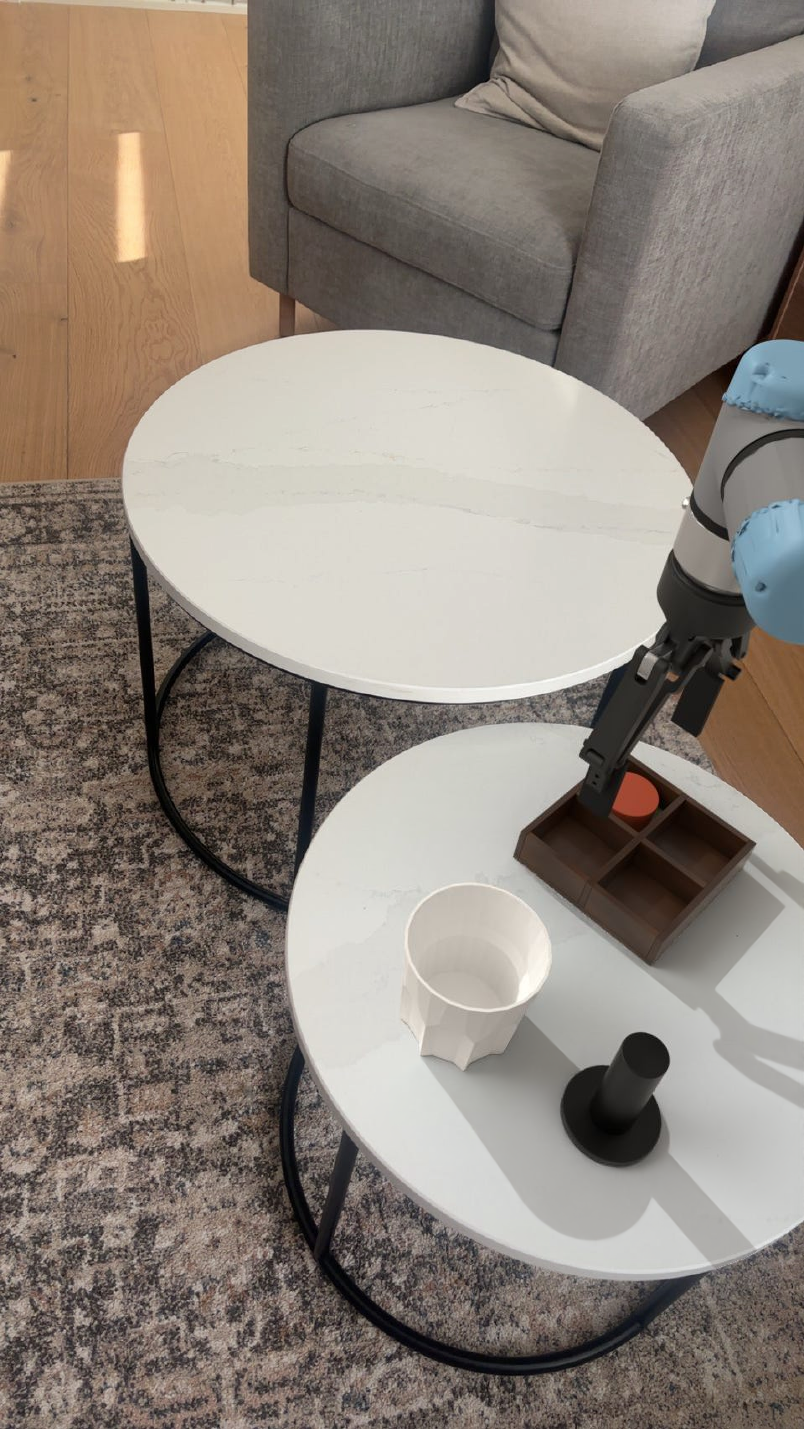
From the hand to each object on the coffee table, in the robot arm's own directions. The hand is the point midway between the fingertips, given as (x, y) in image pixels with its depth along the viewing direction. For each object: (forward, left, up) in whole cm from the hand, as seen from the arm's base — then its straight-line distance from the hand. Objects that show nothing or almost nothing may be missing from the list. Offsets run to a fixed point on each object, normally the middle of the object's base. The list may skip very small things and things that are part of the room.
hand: (641, 766), depth 91 cm
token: (0, 0, -6) cm, 6 cm away
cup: (-17, +19, -7) cm, 26 cm away
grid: (-5, +1, -7) cm, 8 cm away
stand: (-26, +10, -7) cm, 28 cm away
